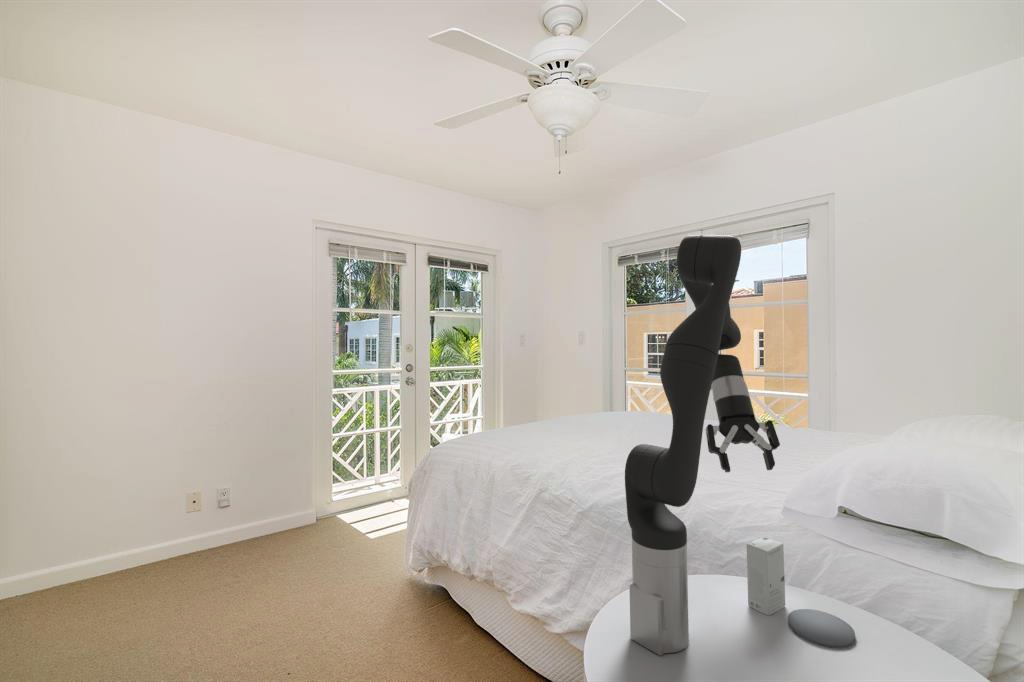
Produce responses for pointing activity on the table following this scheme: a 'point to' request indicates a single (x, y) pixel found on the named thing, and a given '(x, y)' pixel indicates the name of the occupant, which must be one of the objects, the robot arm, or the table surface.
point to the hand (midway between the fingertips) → (749, 470)
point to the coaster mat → (821, 628)
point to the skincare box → (765, 575)
